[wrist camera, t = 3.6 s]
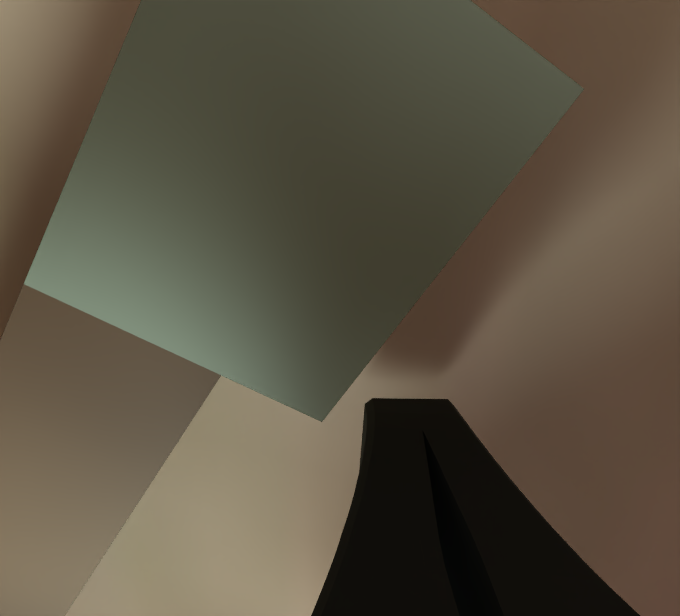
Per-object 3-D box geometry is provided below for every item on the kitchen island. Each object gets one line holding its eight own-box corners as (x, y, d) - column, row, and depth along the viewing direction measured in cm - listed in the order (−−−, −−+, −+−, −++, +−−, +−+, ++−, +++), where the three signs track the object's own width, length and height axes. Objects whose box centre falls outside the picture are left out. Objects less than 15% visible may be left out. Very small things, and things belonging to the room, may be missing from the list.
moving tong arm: (37, 692, 15) (-35, 874, 12) (-95, 657, 14) (-210, 846, 11) (478, 45, 8) (583, 89, 5) (265, -116, 7) (220, -193, 4)
